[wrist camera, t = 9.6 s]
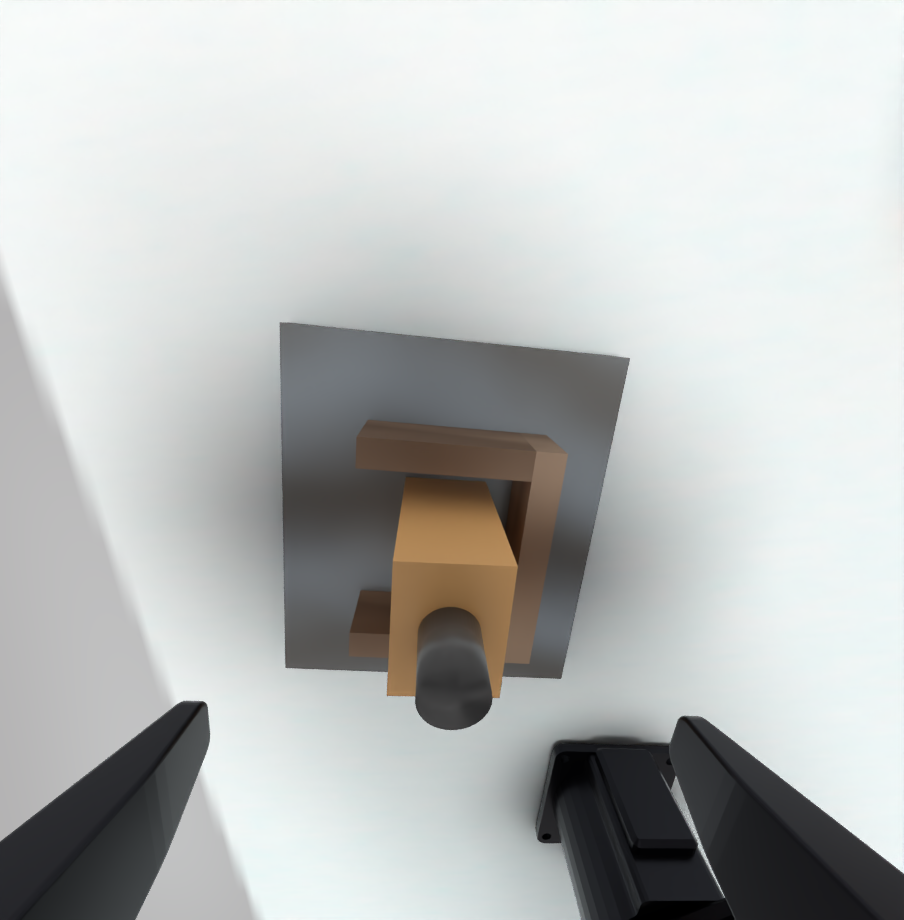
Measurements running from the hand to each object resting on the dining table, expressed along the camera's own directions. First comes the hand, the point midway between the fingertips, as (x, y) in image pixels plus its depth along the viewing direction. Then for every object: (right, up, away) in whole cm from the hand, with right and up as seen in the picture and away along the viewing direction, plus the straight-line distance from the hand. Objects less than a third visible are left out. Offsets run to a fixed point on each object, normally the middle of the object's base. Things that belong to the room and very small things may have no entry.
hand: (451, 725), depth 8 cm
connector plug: (0, +2, +8) cm, 9 cm away
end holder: (0, +3, +9) cm, 10 cm away
